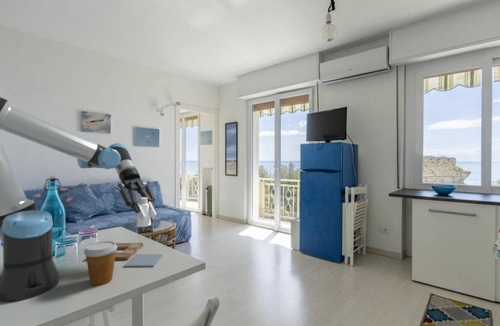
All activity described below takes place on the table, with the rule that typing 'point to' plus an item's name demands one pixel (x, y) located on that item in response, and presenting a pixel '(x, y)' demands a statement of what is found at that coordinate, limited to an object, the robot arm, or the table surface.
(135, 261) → the grey mat
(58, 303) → the table surface
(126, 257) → the walnut frame
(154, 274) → the table surface
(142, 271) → the table surface
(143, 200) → the pepper shaker
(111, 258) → the disposable coffee cup
